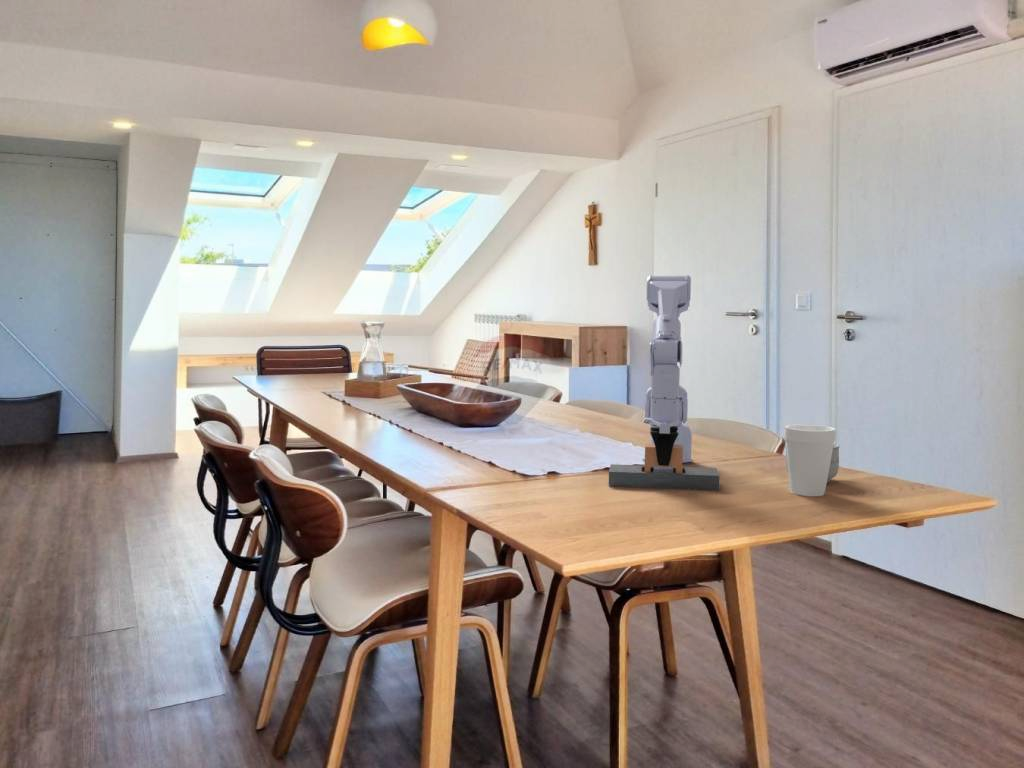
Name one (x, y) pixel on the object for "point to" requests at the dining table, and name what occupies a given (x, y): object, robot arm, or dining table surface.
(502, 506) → the dining table surface
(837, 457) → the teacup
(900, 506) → the dining table surface
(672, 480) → the slate rail
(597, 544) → the dining table surface
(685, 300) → the robot arm
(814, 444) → the foam cup
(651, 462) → the tan orange block
